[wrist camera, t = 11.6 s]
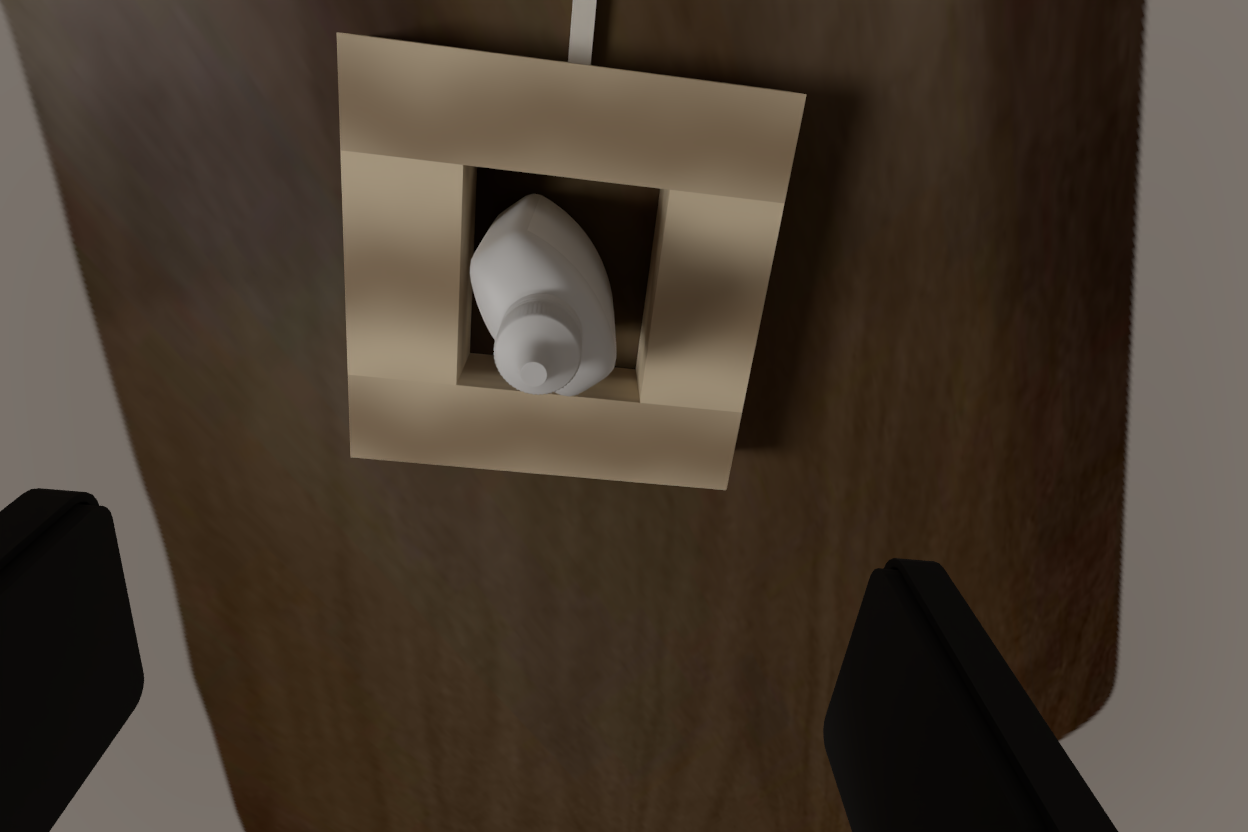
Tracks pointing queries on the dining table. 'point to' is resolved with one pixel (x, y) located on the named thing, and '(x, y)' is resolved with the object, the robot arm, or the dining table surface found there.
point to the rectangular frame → (444, 245)
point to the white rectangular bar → (582, 31)
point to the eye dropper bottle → (544, 300)
